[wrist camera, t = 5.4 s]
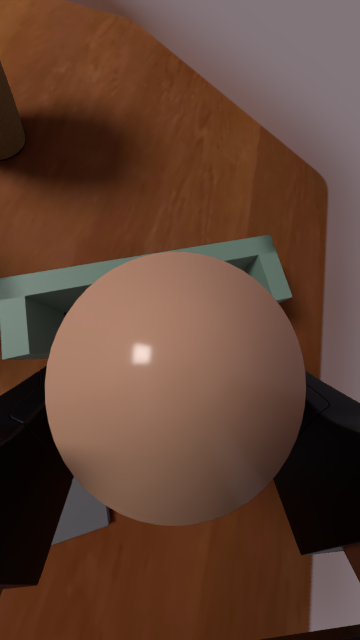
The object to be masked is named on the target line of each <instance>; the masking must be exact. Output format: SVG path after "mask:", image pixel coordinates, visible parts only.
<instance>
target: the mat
mask: <svg viewBox="0 0 360 640" xmlns="http://www.w3.org/2000/svg"><path fill="white" fill-rule="evenodd" d="M109 522H110V513H109V507H107V506H106V505H104V504H103V503H101V502H100V501H99V500H98V499H96V498H95V497H94V496H93V495H91V494H90V493H89V492H88V491H87V490H86V489H85V488H84V487H83V486H82V485H81V484H80V483H79V482H78V480H77V479H76V478H75V477H74V478H73V480H72V484H71V487H70V490H69V493H68V496H67V499H66V502H65V505H64V508H63V511H62V514H61V517H60V520H59V523H58V526H57V529H56V532H55V535H54V538H53V541H52V544H51V545H53V544H56V543H59V542H62V541H65V540H68V539H71V538H73V537H76V536H79V535H82V534H85V533H88V532H91V531H93V530H96V529H99V528H102V527H105V526H108V525H109Z"/></svg>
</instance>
